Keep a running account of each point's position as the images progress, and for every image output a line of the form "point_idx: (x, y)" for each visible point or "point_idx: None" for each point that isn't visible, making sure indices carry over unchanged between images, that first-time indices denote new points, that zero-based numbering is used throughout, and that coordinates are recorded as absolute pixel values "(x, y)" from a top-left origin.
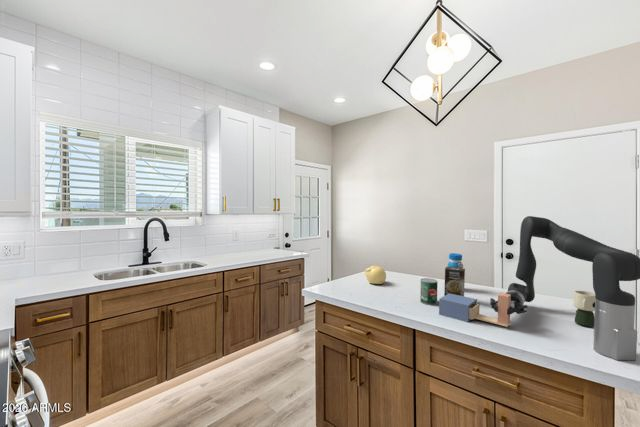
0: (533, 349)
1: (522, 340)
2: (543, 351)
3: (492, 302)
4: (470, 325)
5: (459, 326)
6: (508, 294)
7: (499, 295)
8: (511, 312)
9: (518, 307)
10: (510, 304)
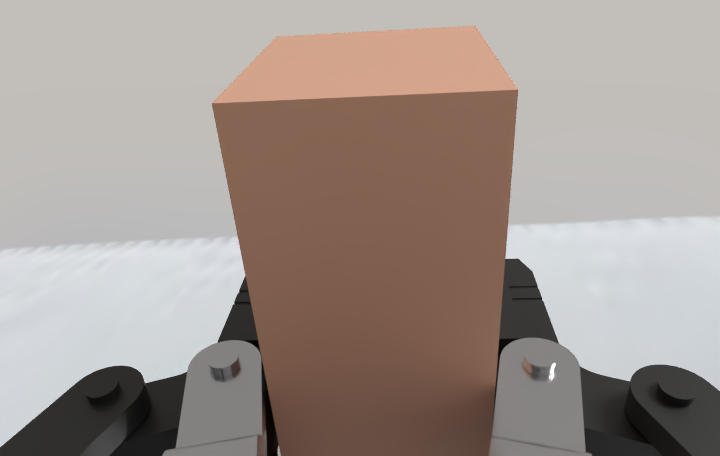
0: (155, 267)
1: (202, 334)
2: (97, 275)
3: (676, 367)
4: (661, 345)
5: (691, 280)
6: (276, 94)
7: (446, 33)
8: None
9: (102, 377)
10: (262, 360)
